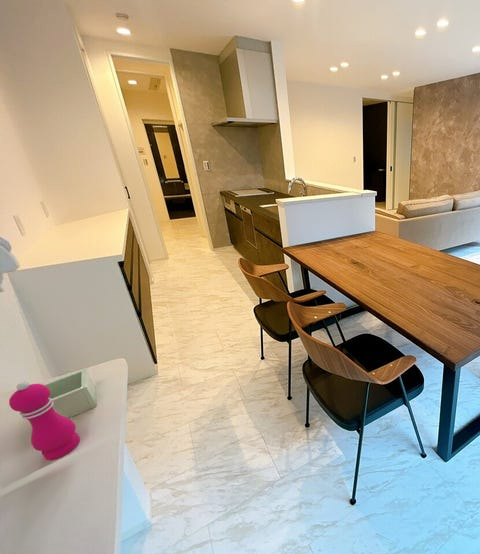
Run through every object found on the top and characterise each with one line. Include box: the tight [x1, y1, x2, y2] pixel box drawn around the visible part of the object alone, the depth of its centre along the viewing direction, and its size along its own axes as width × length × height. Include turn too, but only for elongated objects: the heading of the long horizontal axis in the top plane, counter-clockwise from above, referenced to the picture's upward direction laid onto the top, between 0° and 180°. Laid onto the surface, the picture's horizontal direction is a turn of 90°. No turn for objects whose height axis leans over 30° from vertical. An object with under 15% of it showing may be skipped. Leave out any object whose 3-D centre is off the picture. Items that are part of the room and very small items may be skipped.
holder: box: [42, 368, 98, 419], centre depth 83 cm, size 11×11×7 cm
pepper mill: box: [8, 381, 81, 461], centre depth 68 cm, size 7×7×20 cm
